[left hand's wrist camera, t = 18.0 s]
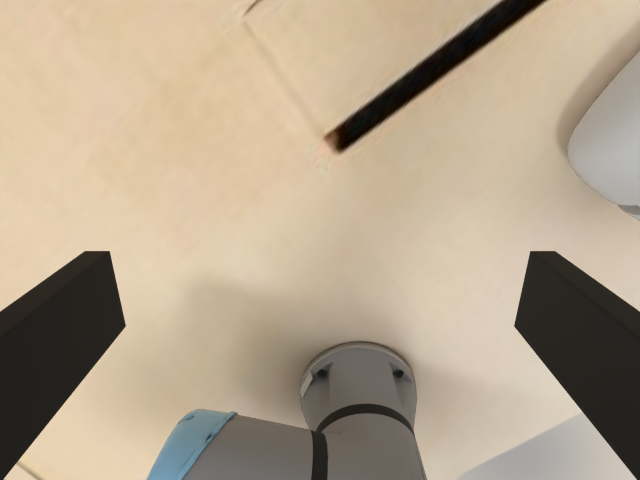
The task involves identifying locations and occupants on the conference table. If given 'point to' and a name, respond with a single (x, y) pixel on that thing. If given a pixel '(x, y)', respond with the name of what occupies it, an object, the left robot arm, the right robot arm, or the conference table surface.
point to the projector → (612, 141)
